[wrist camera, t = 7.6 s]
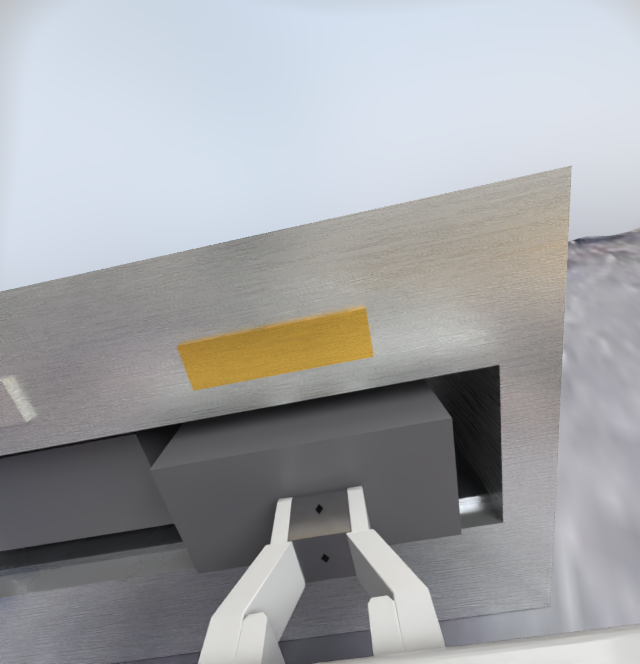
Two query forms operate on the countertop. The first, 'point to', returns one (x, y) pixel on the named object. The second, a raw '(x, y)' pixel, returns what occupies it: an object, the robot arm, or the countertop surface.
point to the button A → (82, 489)
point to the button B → (311, 469)
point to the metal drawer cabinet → (292, 386)
